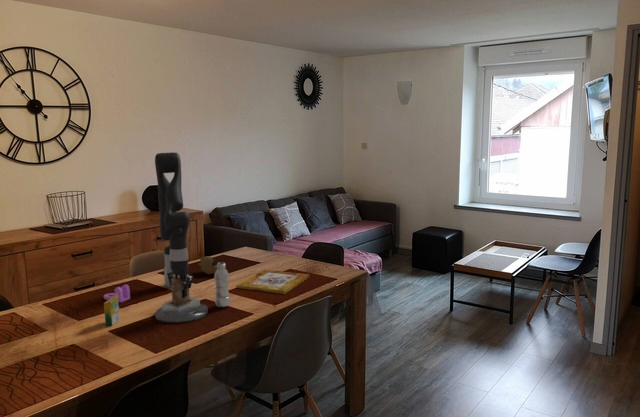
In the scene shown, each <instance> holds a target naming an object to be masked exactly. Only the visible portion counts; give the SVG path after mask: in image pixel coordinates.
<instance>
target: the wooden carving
mask: <svg viewBox="0 0 640 417" xmlns="http://www.w3.org/2000/svg"><path fill="white" fill-rule="evenodd" d="M199 259H200V262H199V263H198V266H200V270H201V271H202V272H204V273H205V274H206V275H207V274H208V275H212V274H213V275H215V272H216V270H217V269H218V268H217V264H216V260H215V258H213V257H211V256H209V255H207V256H202V257H200V258H199Z"/></svg>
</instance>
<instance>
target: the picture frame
mask: <svg viewBox="0 0 640 417" xmlns="http://www.w3.org/2000/svg"><path fill="white" fill-rule="evenodd" d="M307 278H308V279H309V278H310V274H309V273H308V274H307V273H306V274H305V273H297V272H289V271H280V270H271V269H264V270H262V271H260V272H258V273H256V274H255V275H253V276H251V277H249V278H247V279H245V280H243V281H241V282H240V283H238V284H236V288H237V289H241V290H242V289H243V290H251V291H256V292H257V291H258V292H264V293H265V292H267V293H274V294H281V295H282V294H283V295H285V294H288V292H289V291H292V290H293V289H294V288H296V287H297V286H299V285H300V284H302V283H303V282H305V281H306V280H307ZM304 280H305V281H304ZM301 282H302V283H301ZM298 284H299V285H298Z"/></svg>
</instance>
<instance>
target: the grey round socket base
mask: <svg viewBox="0 0 640 417" xmlns="http://www.w3.org/2000/svg"><path fill="white" fill-rule="evenodd" d="M189 297H190V302H187V303H184V304H182V305H175V304H173V301H172V300H169V301H166V302H163V303H162V306H161V307H159V308H158V309H157V310H155V312H154V315H155V318H154V319H156V320H157V321H158V322H161V323H165V324H185V323H191V322H194V321H198V320H200V319H202V318H204V317H206V315H208V312H209V309H208V306H207V305H206V304H204V303H202V302H201V299H199V298H194V297H191V296H189Z"/></svg>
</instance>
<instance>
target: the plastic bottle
mask: <svg viewBox="0 0 640 417" xmlns="http://www.w3.org/2000/svg"><path fill="white" fill-rule="evenodd" d="M216 265H217V268H218V269H217V270H216V272H215V274H213V276H214V277H213V278H214V283H215V290H216V291H215V302H214V303H215V305H216V307H218V308H226V307H228V306H229V305H230V302H231V298H230V294H229V276H230V275H229V274H230V273H229V272H228V270H227V268H226V262H224V261H223V262H222V261H221V262H218V263H217V264H216Z"/></svg>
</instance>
